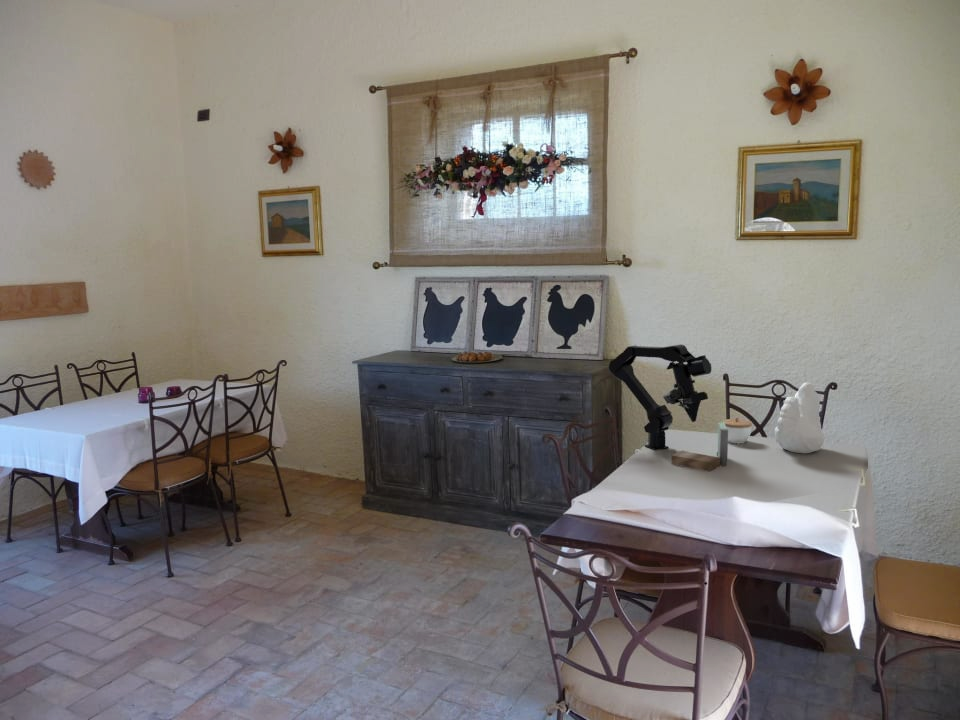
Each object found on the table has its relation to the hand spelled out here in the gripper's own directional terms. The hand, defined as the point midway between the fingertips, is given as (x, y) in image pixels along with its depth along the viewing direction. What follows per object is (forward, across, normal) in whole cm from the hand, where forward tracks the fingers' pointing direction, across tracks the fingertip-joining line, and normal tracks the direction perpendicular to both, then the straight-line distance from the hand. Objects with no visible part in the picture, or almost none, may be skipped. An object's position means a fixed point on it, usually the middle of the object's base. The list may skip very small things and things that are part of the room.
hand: (693, 421), depth 254 cm
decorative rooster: (+19, +2, +33) cm, 38 cm away
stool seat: (+13, +10, -8) cm, 18 cm away
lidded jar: (+13, -15, +22) cm, 29 cm away
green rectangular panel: (+14, +8, +3) cm, 17 cm away
